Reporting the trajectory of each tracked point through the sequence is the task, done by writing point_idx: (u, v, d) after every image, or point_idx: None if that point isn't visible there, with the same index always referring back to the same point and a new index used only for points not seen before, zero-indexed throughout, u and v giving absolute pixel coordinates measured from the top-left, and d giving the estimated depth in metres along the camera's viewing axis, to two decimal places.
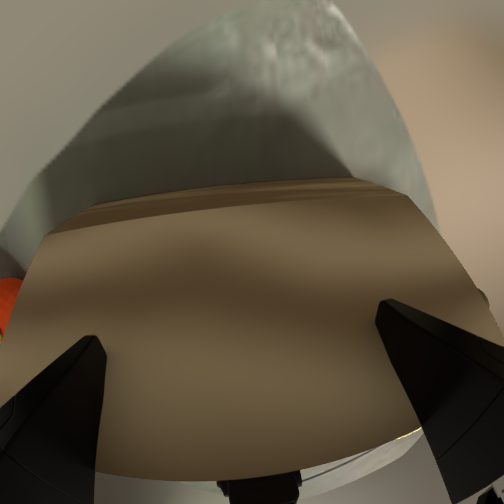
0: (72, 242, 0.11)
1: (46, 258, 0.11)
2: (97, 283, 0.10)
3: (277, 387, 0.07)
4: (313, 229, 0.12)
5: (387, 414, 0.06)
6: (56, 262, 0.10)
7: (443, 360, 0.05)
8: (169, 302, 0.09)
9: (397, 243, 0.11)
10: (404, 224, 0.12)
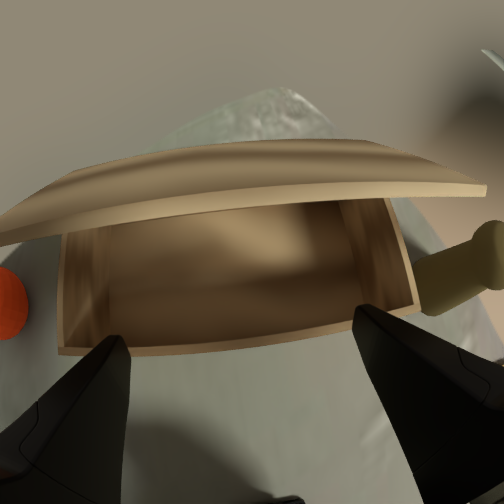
0: (98, 166, 0.15)
1: (74, 174, 0.14)
2: (116, 168, 0.12)
3: (245, 167, 0.09)
4: (282, 143, 0.15)
5: (346, 174, 0.08)
6: (82, 172, 0.13)
7: (417, 372, 0.05)
8: (169, 161, 0.12)
9: (351, 146, 0.14)
10: (359, 144, 0.15)
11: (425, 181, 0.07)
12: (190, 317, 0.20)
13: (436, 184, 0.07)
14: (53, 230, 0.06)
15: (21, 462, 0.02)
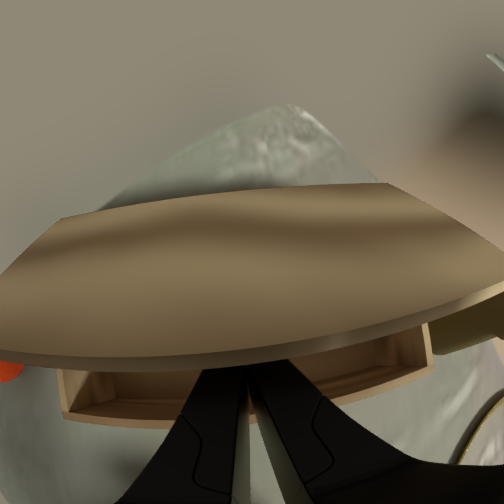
0: (86, 218, 0.13)
1: (59, 228, 0.12)
2: (104, 233, 0.11)
3: (263, 273, 0.07)
4: (299, 197, 0.13)
5: (391, 293, 0.06)
6: (68, 229, 0.12)
7: (265, 414, 0.05)
8: (166, 234, 0.10)
9: (378, 202, 0.12)
10: (384, 195, 0.13)
11: (474, 290, 0.06)
12: None
13: (483, 290, 0.06)
14: (38, 363, 0.05)
15: (211, 499, 0.02)
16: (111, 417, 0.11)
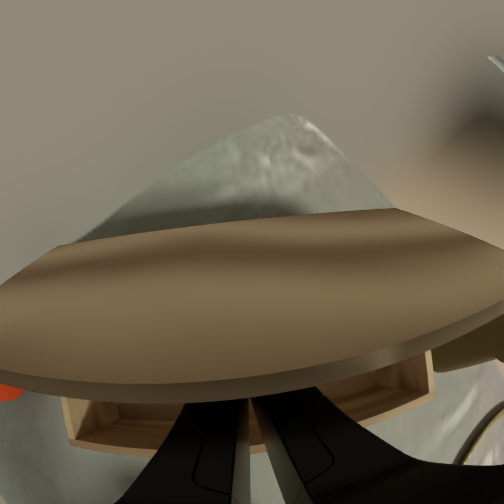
0: (83, 245, 0.13)
1: (55, 254, 0.12)
2: (99, 259, 0.10)
3: (270, 295, 0.06)
4: (306, 224, 0.12)
5: (417, 307, 0.05)
6: (64, 254, 0.11)
7: (265, 414, 0.05)
8: (164, 260, 0.09)
9: (388, 225, 0.11)
10: (393, 218, 0.13)
11: (502, 297, 0.04)
12: None
13: None
14: (11, 382, 0.04)
15: (211, 498, 0.02)
16: (118, 446, 0.11)
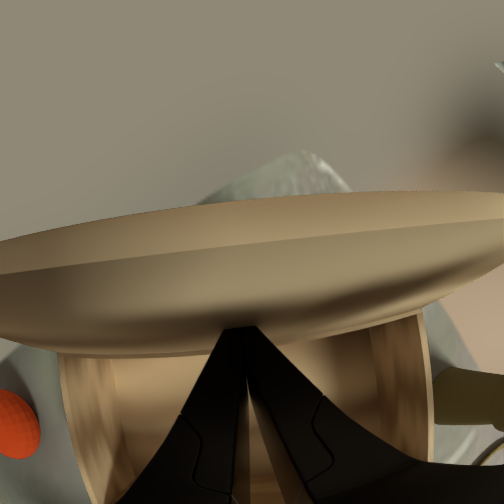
0: None
1: None
2: None
3: None
4: None
5: None
6: None
7: (265, 414, 0.05)
8: None
9: None
10: None
11: None
12: None
13: None
14: None
15: (211, 498, 0.02)
16: None
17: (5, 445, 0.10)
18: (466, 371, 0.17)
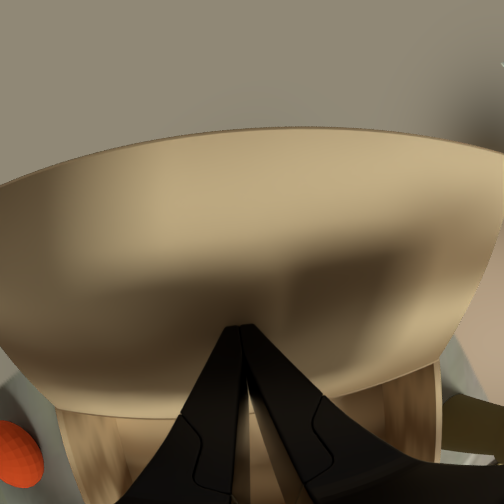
0: None
1: None
2: None
3: None
4: None
5: None
6: None
7: (265, 414, 0.05)
8: None
9: None
10: None
11: None
12: None
13: (460, 142, 0.06)
14: (13, 181, 0.04)
15: (212, 498, 0.02)
16: None
17: (11, 478, 0.08)
18: (473, 401, 0.15)
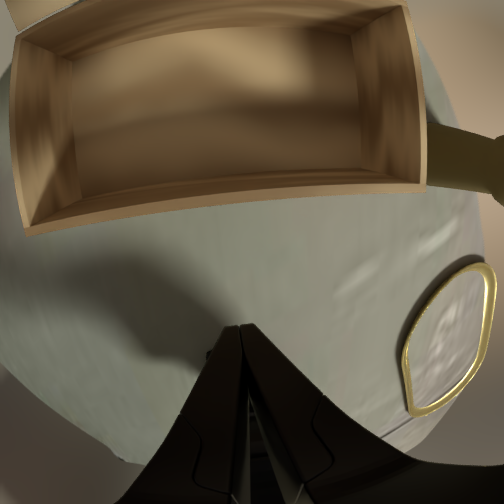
0: None
1: None
2: None
3: None
4: None
5: None
6: None
7: (265, 414, 0.05)
8: None
9: None
10: None
11: None
12: (165, 149, 0.17)
13: None
14: None
15: (211, 499, 0.02)
16: (71, 216, 0.11)
17: None
18: None
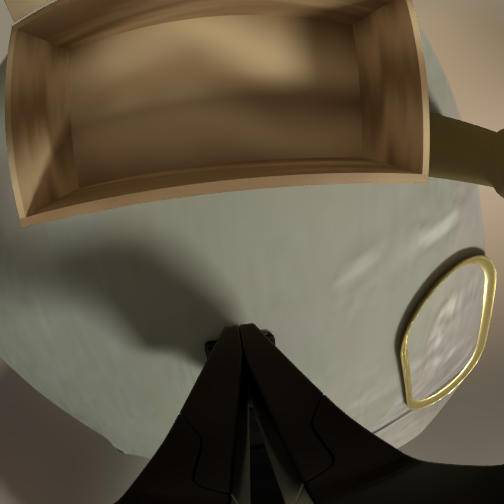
0: None
1: None
2: None
3: None
4: None
5: None
6: None
7: (265, 414, 0.05)
8: None
9: None
10: None
11: None
12: (163, 138, 0.16)
13: None
14: None
15: (211, 498, 0.02)
16: (67, 206, 0.11)
17: None
18: None
